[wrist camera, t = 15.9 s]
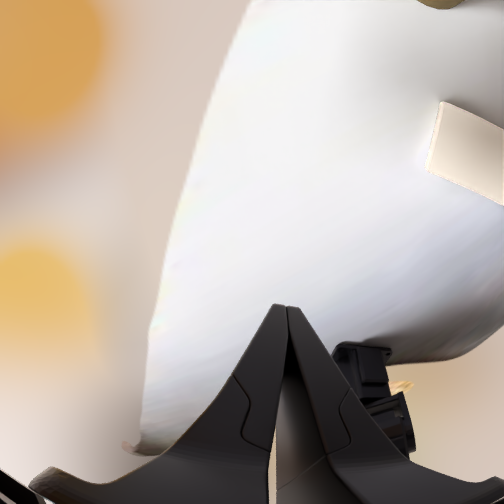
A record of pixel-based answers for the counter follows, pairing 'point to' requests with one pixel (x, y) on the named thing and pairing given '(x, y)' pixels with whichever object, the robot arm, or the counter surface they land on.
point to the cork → (441, 3)
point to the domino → (468, 152)
